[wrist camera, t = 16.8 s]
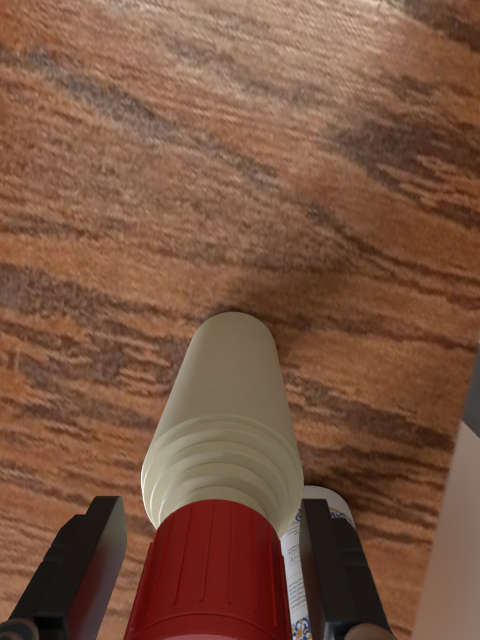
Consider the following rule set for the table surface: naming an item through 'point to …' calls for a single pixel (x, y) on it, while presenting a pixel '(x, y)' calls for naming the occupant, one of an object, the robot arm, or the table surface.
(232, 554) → the cap
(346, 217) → the table surface
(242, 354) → the sauce bottle
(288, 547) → the bath foam
